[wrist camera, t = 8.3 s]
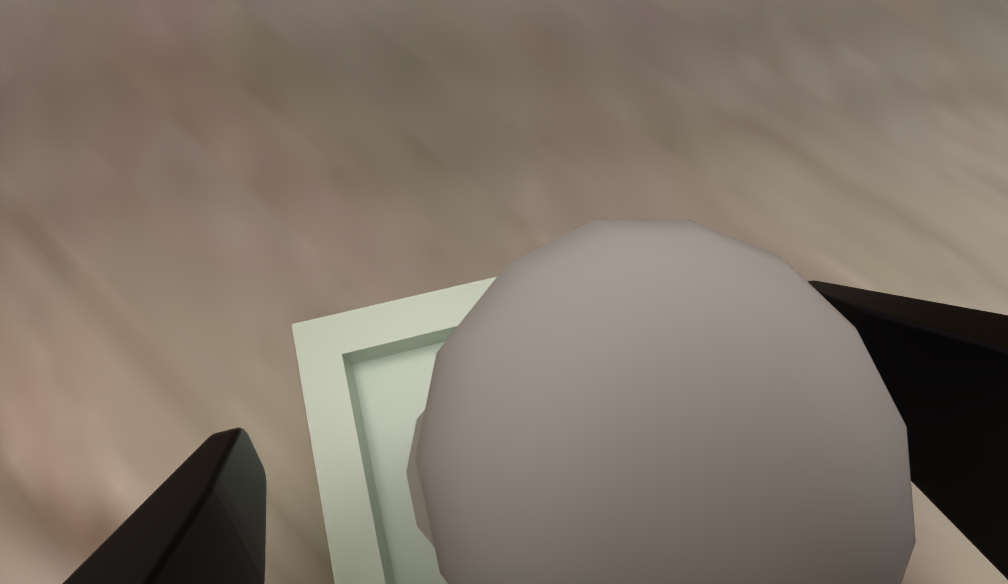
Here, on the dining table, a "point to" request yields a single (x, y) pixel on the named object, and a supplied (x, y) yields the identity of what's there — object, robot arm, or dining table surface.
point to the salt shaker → (659, 423)
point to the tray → (374, 427)
